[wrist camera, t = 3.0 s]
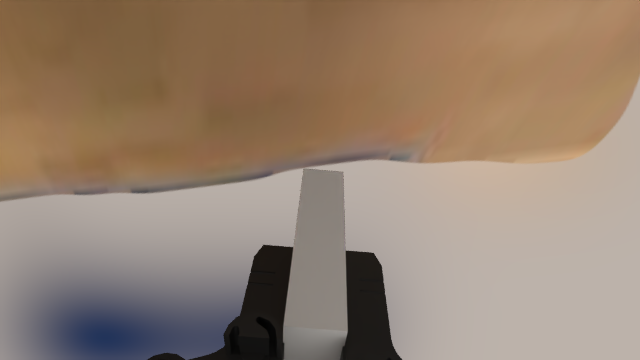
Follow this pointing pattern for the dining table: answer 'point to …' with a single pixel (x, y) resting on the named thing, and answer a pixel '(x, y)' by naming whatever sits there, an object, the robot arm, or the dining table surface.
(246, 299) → the robot arm
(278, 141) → the dining table surface
